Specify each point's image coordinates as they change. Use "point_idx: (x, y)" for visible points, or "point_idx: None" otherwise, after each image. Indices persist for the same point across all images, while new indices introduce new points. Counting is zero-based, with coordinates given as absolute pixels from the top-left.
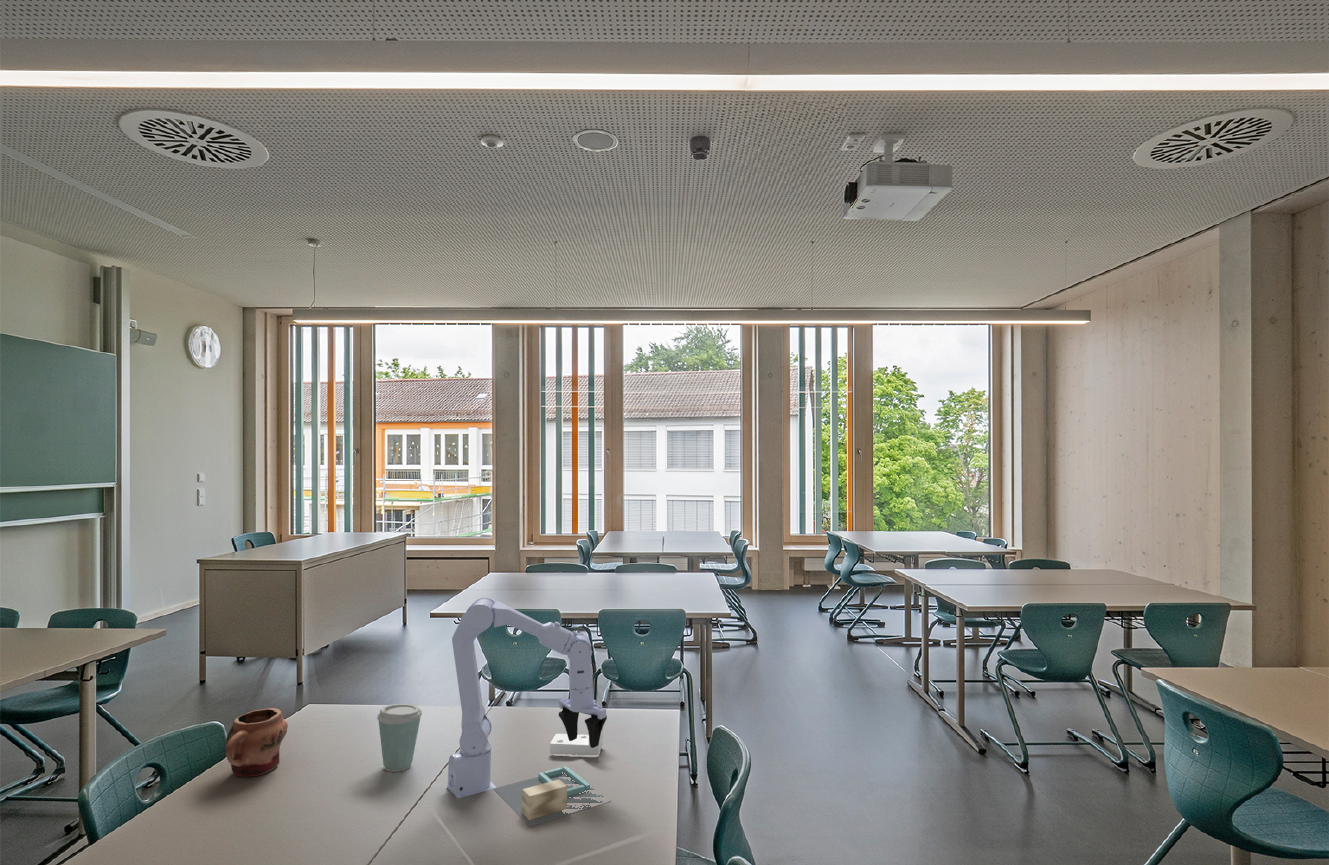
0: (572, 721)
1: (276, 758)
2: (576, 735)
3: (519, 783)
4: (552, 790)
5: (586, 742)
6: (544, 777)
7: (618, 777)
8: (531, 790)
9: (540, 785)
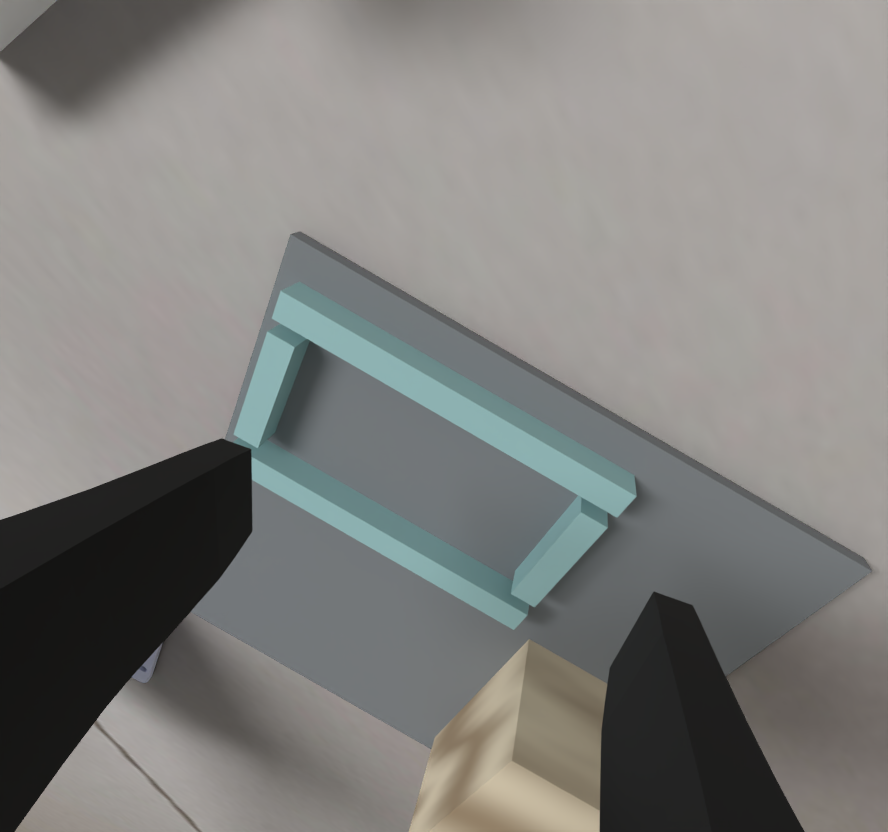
0: (16, 703)
1: None
2: (225, 475)
3: None
4: None
5: None
6: (296, 500)
7: (763, 118)
8: None
9: (459, 822)
